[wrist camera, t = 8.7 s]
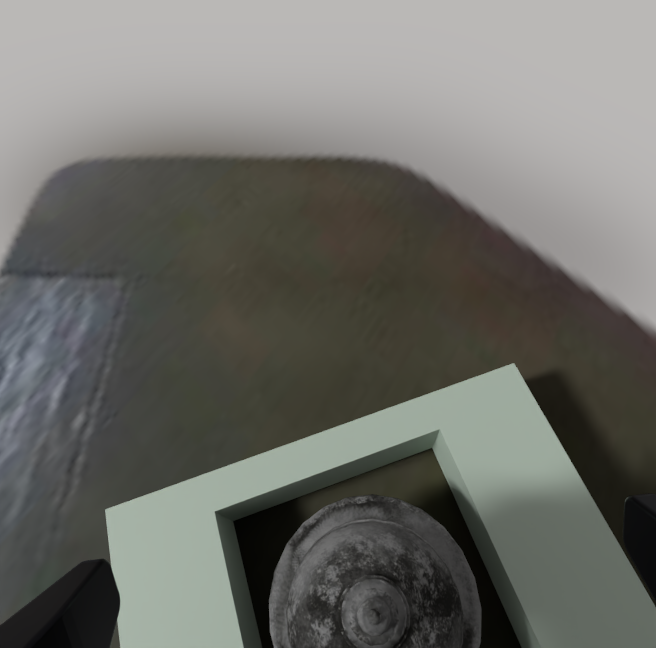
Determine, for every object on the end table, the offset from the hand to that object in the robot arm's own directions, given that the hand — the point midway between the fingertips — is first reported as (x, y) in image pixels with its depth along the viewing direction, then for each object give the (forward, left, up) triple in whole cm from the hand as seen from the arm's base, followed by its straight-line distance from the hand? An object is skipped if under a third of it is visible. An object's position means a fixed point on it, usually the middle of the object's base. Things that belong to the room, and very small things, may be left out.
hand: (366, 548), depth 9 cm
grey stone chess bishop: (-1, 0, -10) cm, 10 cm away
